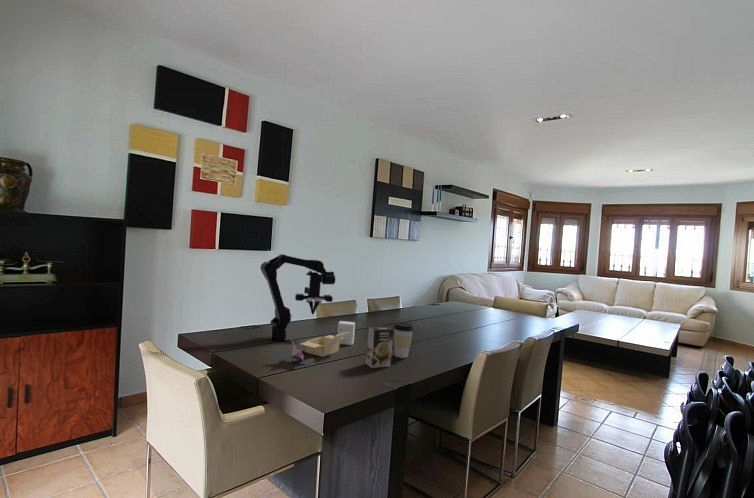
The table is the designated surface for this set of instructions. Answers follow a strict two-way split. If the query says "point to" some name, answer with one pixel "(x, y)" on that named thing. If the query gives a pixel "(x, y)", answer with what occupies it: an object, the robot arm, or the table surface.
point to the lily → (296, 352)
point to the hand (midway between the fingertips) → (312, 314)
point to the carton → (321, 346)
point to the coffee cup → (402, 339)
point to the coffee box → (379, 347)
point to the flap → (336, 338)
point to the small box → (344, 328)
